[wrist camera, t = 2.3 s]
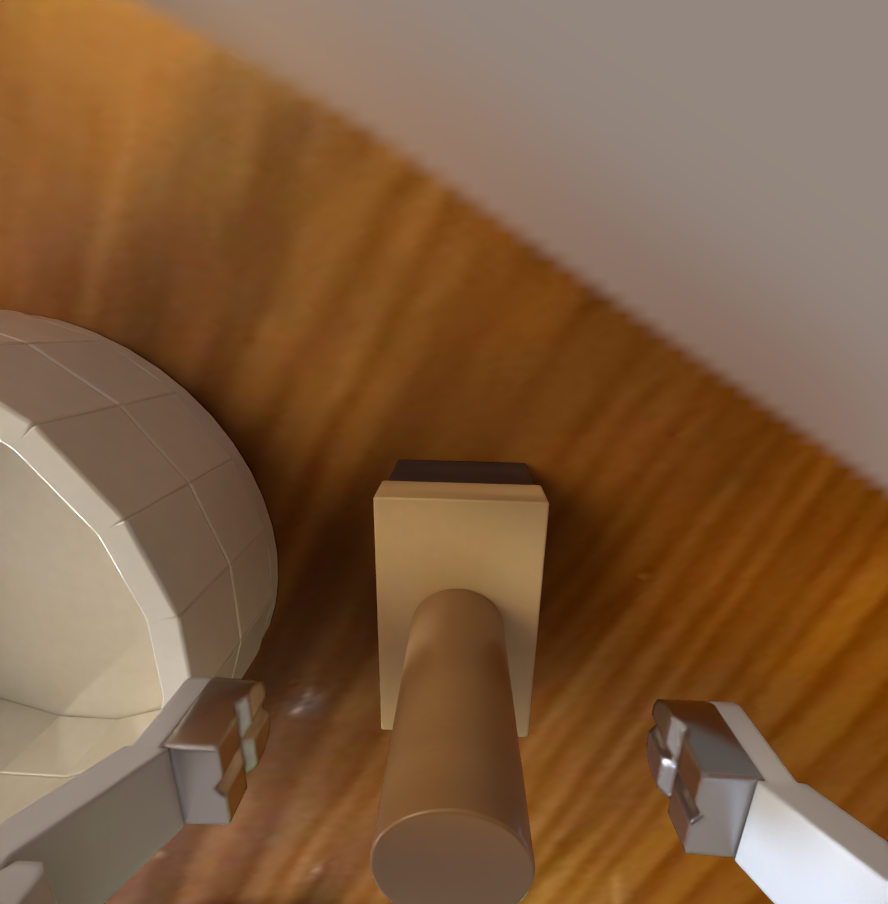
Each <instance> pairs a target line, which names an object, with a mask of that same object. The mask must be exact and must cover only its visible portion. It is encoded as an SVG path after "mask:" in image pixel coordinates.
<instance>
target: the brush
mask: <svg viewBox="0 0 888 904" xmlns="http://www.w3.org/2000/svg"><path fill="white" fill-rule="evenodd" d="M373 501H374V530H375V559H376V588H377V617H378V646H379V674H380V703H381V728H382V729H384V730H392V734H391V740H390V746H389V751H388V757H387V762H386V768H385V774H384V779H383V785H382V791H381V796H380V802H379V807H378V813H377V819H376V824H375V830H374V835H373V841H372V847H371V852H370V866H371V872H372V875H373V878H374V881H375V882H376V884H377V886H378V888H379V889H380V890H381V892H382V893H383V894H384V895H385V896H386V897H387V898H388V899H389V900H390V901H392V902H393V903H394V904H518V903H520V902H521V900H522V899H523V898H524V897H525V896H526V894H527V893H528V891H529V890H530V887H531V885H532V883H533V878H534V873H535V863H534V855H533V848H532V840H531V832H530V825H529V817H528V809H527V802H526V794H525V787H524V779H523V771H522V764H521V756H520V748H519V741H518V737H528V732H529V721H530V710H531V699H532V688H533V677H534V666H535V655H536V644H537V633H538V622H539V611H540V601H541V590H542V579H543V568H544V557H545V546H546V535H547V524H548V513H549V502H548V500H547V498H546V496H545V493H544V491H543V489H542V487H541V486H540V485H534V483H533V481H532V478H531V476H530V474H529V472H528V469H527V467H526V465H525V464H524V463H502V462H466V461H430V460H398V462H397V464H396V466H395V468H394V470H393V473H392V475H391V477H390V479H389V481H382V483H381V485H380V487H379V488H378V490H377V492H376V494H375V496H374V498H373Z"/></svg>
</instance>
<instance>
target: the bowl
mask: <svg viewBox="0 0 888 904" xmlns="http://www.w3.org/2000/svg"><path fill="white" fill-rule="evenodd" d="M277 585H278V561H277V549H276V544H275V538H274V532H273V527H272V523H271V520H270V517H269V514H268V511H267V508H266V505H265V502H264V499H263V496H262V494H261V492H260V490H259V488H258V486H257V483H256V481H255V479H254V477H253V475H252V473H251V471H250V469H249V467H248V466H247V464H246V463H245V461H244V459H243V458H242V456H241V454H240V453H239V451H238V450H237V448H236V446H235V445H234V443H233V442H232V441H231V439H230V438H229V437H228V436H227V434H226V433H225V432H224V431H223V429H222V428H221V427H220V425H219V424H218V423H217V422H216V420H215V419H214V418H213V417H212V416H211V415H210V414H209V413H208V412H207V411H206V410H205V408H204V407H203V406H202V405H201V404H200V403H199V402H198V401H197V400H196V399H195V398H194V397H193V396H192V395H191V394H190V393H189V392H188V391H186V390H185V389H184V388H183V387H182V386H180V385H179V384H178V383H177V382H175V381H174V380H173V379H172V378H170V377H169V376H168V375H167V374H165V373H164V372H163V371H162V370H160V369H159V368H158V367H156V366H154V365H153V364H151V363H150V362H148V361H147V360H145V359H144V358H142V357H140V356H139V355H137V354H136V353H134V352H133V351H131V350H129V349H128V348H126V347H124V346H122V345H120V344H118V343H115V342H113V341H111V340H109V339H107V338H105V337H103V336H101V335H99V334H97V333H95V332H92V331H89V330H87V329H84V328H81V327H78V326H75V325H72V324H70V323H67V322H64V321H61V320H56V319H52V318H47V317H43V316H38V315H34V314H29V313H20V312H17V311H12V310H0V823H2V822H4V821H5V820H7V819H8V818H10V817H12V816H13V815H15V814H16V813H18V812H20V811H21V810H23V809H24V808H26V807H28V806H29V805H31V804H32V803H34V802H36V801H37V800H39V799H40V798H42V797H44V796H45V795H47V794H48V793H50V792H52V791H53V790H55V789H57V788H58V787H60V786H61V785H63V784H65V783H66V782H68V781H69V780H71V779H73V778H74V777H76V776H77V775H79V774H81V773H82V772H84V771H85V770H87V769H89V768H90V767H92V766H93V765H95V764H97V763H98V762H100V761H101V760H103V759H105V758H106V757H108V756H109V755H111V754H113V753H114V752H116V751H117V750H119V749H121V748H122V747H124V746H133V745H134V743H135V742H136V741H137V740H138V738H139V737H140V736H141V735H142V733H143V732H144V731H145V730H146V728H147V727H148V726H149V725H150V723H151V722H152V721H153V720H154V718H155V717H156V716H157V715H158V713H159V712H160V711H161V710H162V708H163V707H164V706H165V705H166V703H167V702H168V701H169V700H170V698H171V697H172V696H173V695H174V693H175V692H176V691H177V690H178V689H179V687H180V686H181V685H182V684H183V682H184V681H185V680H187V679H188V678H190V677H192V676H202V677H222V678H235V679H242V677H243V676H244V674H245V673H246V671H247V669H248V668H249V666H250V665H251V663H252V662H253V660H254V658H255V657H256V655H257V653H258V651H259V648H260V645H261V643H262V641H263V638H264V636H265V634H266V632H267V630H268V628H269V625H270V621H271V618H272V614H273V611H274V607H275V602H276V594H277Z"/></svg>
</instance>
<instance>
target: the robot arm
mask: <svg viewBox="0 0 888 904" xmlns="http://www.w3.org/2000/svg"><path fill="white" fill-rule="evenodd" d="M266 696H267V693H266V687H265V682H263V681H260V680H248V679H235V678H222V677H202V676H192V677H190V678H188V679H187V680H185V681H184V682H183V684H182V685H181V686H180V687H179V689H178V690H177V691H176V692H175V693H174V695H173V696H172V697H171V698H170V700H169V701H168V702H167V703H166V705H165V706H164V707H163V708H162V710H161V711H160V712H159V713H158V715H157V716H156V717H155V718H154V720H153V721H152V722H151V723H150V725H149V726H148V727H147V728H146V730H145V731H144V732H143V733H142V735H141V736H140V737H139V738H138V740H137V741H136V742H135V743H134V745H133V746H124V747H122V748H121V749H119V750H117V751H116V752H114V753H113V754H111V755H109V756H108V757H106V758H105V759H103V760H101V761H100V762H98V763H97V764H95V765H93V766H92V767H90V768H89V769H87V770H85V771H84V772H82V773H81V774H79V775H77V776H76V777H74V778H73V779H71V780H69V781H68V782H66V783H65V784H63V785H61V786H60V787H58V788H57V789H55V790H53V791H52V792H50V793H48V794H47V795H45V796H44V797H42V798H40V799H39V800H37V801H36V802H34V803H32V804H31V805H29V806H28V807H26V808H24V809H23V810H21V811H20V812H18V813H16V814H15V815H13V816H12V817H10V818H8V819H7V820H5V821H4V822H2V823H0V904H104V903H105V902H106V901H107V900H108V899H109V898H110V897H111V896H113V895H114V894H115V893H116V892H117V891H118V890H119V889H120V888H121V887H122V886H123V885H124V884H125V883H126V882H127V881H128V880H129V879H130V878H131V877H132V876H133V875H134V874H135V873H136V872H137V871H138V870H139V869H141V868H142V867H143V866H144V865H145V864H146V863H147V862H148V861H149V860H150V859H151V858H152V857H153V856H154V855H155V854H156V853H157V852H158V851H159V850H160V849H161V848H162V847H163V846H164V845H165V844H166V843H167V842H168V841H170V840H171V839H172V838H173V837H174V836H175V835H176V834H177V833H178V832H179V831H180V830H181V829H182V828H183V827H184V823H191V824H228V825H229V824H230V822H231V820H232V818H233V816H234V814H235V812H236V810H237V808H238V806H239V804H240V801H241V799H242V797H243V795H244V793H245V791H246V789H247V782H246V774H247V773H248V772H250V771H251V770H252V769H253V768H254V767H256V766H257V765H258V764H259V761H260V759H261V757H262V755H263V753H264V750H265V747H266V743H267V739H268V736H269V727H270V717H269V712H268V710H267V709H266V708H265V707H264V706H263V705H262V703H263V701H264V699H265V697H266ZM652 716H653V718H654V720H655V722H656V725H655V726H654V727H653V728H652V729H651V730H649V731H648V738H647V755H648V762H649V765H650V769H651V773H652V775H653V778H654V780H655V783H656V785H657V787H658V788H659V789H660V790H661V791H662V792H663V793H664V794H665V795H666V796H667V797H668V798H669V799H670V804H669V809H668V814H669V816H670V818H671V821H672V823H673V825H674V828H675V830H676V832H677V835H678V837H679V839H680V842H681V844H682V846H683V848H684V851H685V853H692V854H703V855H713V856H724V857H734V858H735V861H736V862H737V863H738V865H739V866H740V867H741V868H742V869H743V870H744V871H745V872H746V873H747V874H748V875H749V876H750V878H751V879H752V880H753V881H754V882H755V883H756V884H757V885H758V886H759V887H760V888H761V890H762V891H763V892H764V893H765V894H766V895H767V896H768V897H769V898H770V899H771V900H772V902H773V903H774V904H888V842H887V841H886V840H885V839H883V838H882V837H880V836H879V835H878V834H876V833H875V832H873V831H872V830H870V829H869V828H868V827H866V826H865V825H863V824H862V823H861V822H859V821H858V820H856V819H855V818H854V817H852V816H851V815H849V814H848V813H847V812H845V811H844V810H842V809H841V808H840V807H838V806H837V805H835V804H834V803H833V802H831V801H830V800H828V799H827V798H826V797H824V796H823V795H821V794H820V793H819V792H817V791H816V790H814V789H813V788H812V787H810V786H809V785H807V784H803V783H797V782H796V780H795V779H794V778H793V776H792V775H791V773H790V772H789V771H788V769H787V768H786V767H785V765H784V764H783V763H782V761H781V760H780V759H779V757H778V756H777V755H776V753H775V752H774V751H773V749H772V748H771V747H770V745H769V744H768V743H767V741H766V740H765V739H764V737H763V736H762V735H761V733H760V732H759V730H758V729H757V728H756V726H755V725H754V724H753V722H752V721H751V720H750V718H749V717H748V716H747V714H746V713H745V712H744V710H743V709H742V708H741V707H740V706H739V705H738V704H736V703H735V702H719V701H708V702H706V701H692V700H665V699H657V700H656V702H655V703H654V705H653V710H652Z"/></svg>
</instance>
